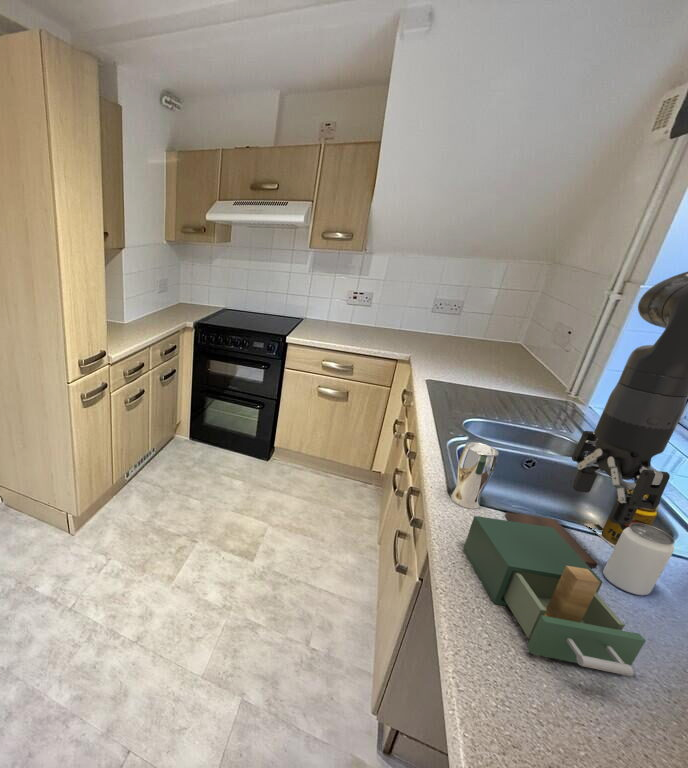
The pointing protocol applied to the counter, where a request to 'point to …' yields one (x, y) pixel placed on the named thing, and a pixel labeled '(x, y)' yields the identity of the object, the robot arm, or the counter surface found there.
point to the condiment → (615, 530)
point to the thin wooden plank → (560, 531)
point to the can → (639, 558)
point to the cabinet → (516, 553)
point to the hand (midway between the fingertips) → (597, 505)
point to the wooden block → (572, 594)
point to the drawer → (571, 627)
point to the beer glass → (474, 473)
